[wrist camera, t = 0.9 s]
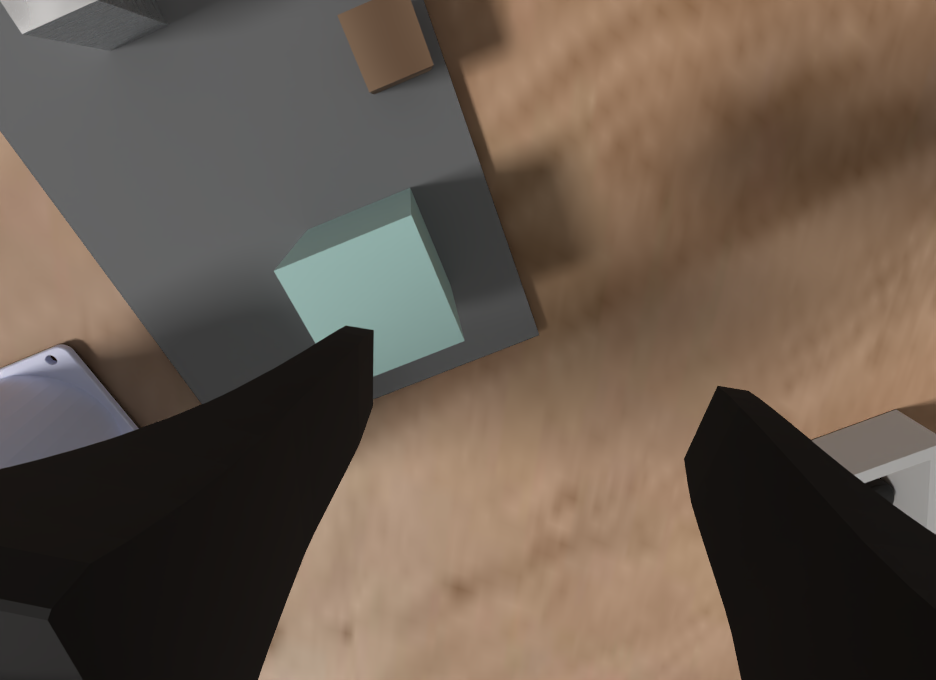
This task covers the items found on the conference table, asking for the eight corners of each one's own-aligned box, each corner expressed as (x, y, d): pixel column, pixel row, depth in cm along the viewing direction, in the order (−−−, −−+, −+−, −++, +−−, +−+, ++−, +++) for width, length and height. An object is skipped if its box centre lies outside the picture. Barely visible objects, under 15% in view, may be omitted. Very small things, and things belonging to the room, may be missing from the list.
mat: (240, 445, 29) (237, 452, 28) (-116, -43, 18) (-131, -47, 18) (536, 330, 28) (539, 335, 27) (334, -252, 17) (332, -263, 17)
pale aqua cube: (356, 324, 26) (341, 389, 20) (307, 229, 24) (273, 270, 18) (451, 286, 25) (464, 341, 20) (410, 187, 23) (411, 215, 17)
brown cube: (373, 94, 22) (369, 92, 19) (346, 27, 20) (337, 15, 18) (430, 70, 21) (433, 65, 19) (405, 1, 20) (405, -15, 18)
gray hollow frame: (736, 620, 41) (764, 664, 37) (706, 478, 34) (737, 516, 31) (893, 566, 40) (935, 605, 37) (895, 409, 33) (947, 441, 30)
